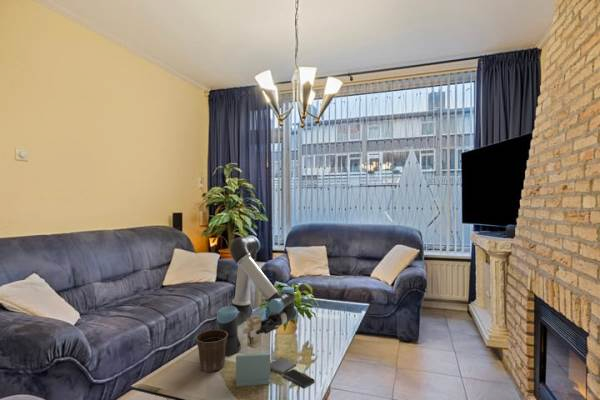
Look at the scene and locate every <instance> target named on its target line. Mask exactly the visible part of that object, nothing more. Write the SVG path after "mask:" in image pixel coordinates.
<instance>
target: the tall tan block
mask: <svg viewBox="0 0 600 400" xmlns="http://www.w3.org/2000/svg"><path fill="white" fill-rule="evenodd" d="M261 318H262V317H260V316H256V315H252V316H251V317H250V318H247V321H246V327H247V333H246V341H247V342H246V343H247V347H249V348H253V349H256V348H258V347H260V346H262V333H260V334H258V335H256V336H253V337H250V332H251V331H253V330H255V329H257V328H260V329H261Z"/></svg>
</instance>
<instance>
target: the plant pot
mask: <svg viewBox="0 0 600 400" xmlns="http://www.w3.org/2000/svg"><path fill="white" fill-rule="evenodd" d="M227 337H228V333H227V332H226V331H223V330H217V329H209V330H206V331H203V332H199V333H198V334H197V335H196V336H195V341H196V346H197V349H198V358H199V364H200V365H199V367H200V370H201V371H203V372H205V373H212V372H215V371H219V370H221V369H223V368H224V366H225V363H226V355H225V349H226V342H227Z"/></svg>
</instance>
